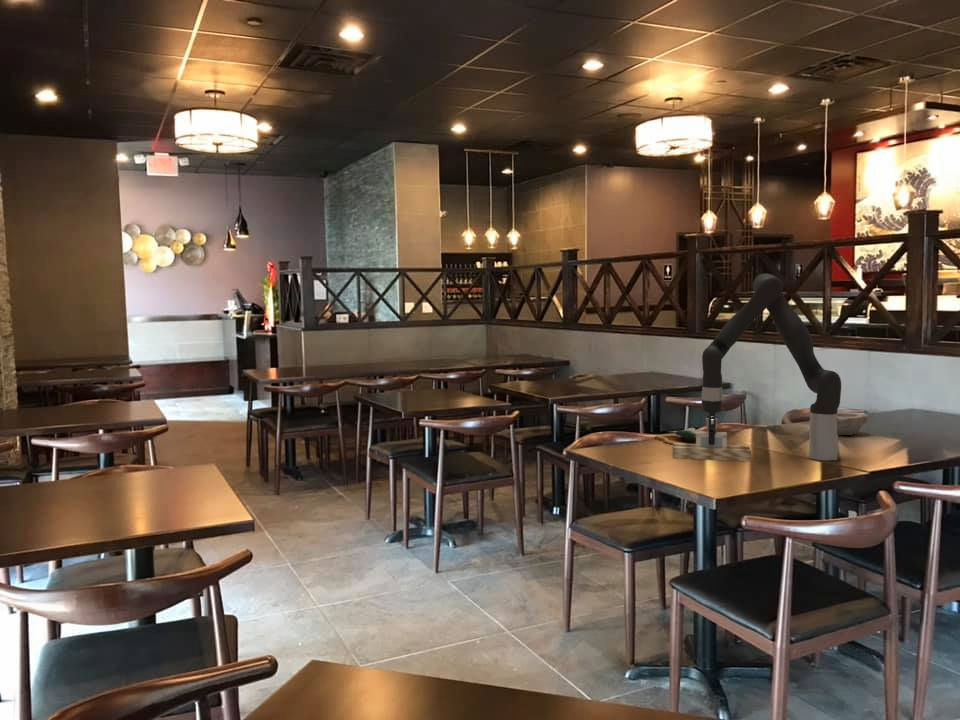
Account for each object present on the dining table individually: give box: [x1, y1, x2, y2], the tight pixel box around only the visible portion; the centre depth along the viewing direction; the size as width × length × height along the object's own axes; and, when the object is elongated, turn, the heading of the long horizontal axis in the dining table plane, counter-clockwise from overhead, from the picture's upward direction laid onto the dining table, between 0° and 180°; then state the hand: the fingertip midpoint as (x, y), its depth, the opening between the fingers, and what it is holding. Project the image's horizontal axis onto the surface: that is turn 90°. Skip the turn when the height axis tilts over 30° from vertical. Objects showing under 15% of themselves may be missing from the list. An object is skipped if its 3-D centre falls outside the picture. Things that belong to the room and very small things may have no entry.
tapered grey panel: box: [696, 430, 728, 449], centre depth 283 cm, size 11×3×8 cm, turn 74°
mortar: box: [837, 411, 870, 436], centre depth 329 cm, size 17×17×9 cm
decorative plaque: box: [653, 427, 697, 446], centre depth 311 cm, size 30×7×20 cm
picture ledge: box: [672, 443, 752, 462], centre depth 283 cm, size 28×10×4 cm, turn 75°
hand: (711, 443), depth 283 cm, fingers open, 5 cm apart
